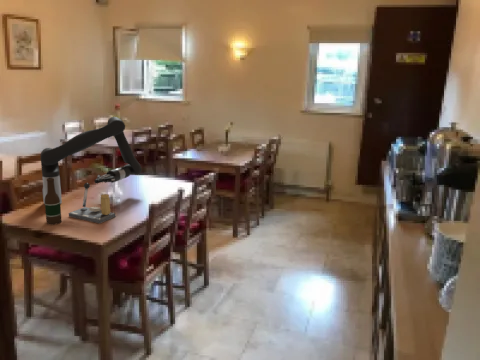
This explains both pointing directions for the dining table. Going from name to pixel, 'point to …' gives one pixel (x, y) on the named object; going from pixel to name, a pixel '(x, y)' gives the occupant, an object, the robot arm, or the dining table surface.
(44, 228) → the dining table surface
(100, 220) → the control box
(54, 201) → the beer bottle
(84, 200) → the toggle lever
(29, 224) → the dining table surface
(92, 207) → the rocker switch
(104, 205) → the slider knob
